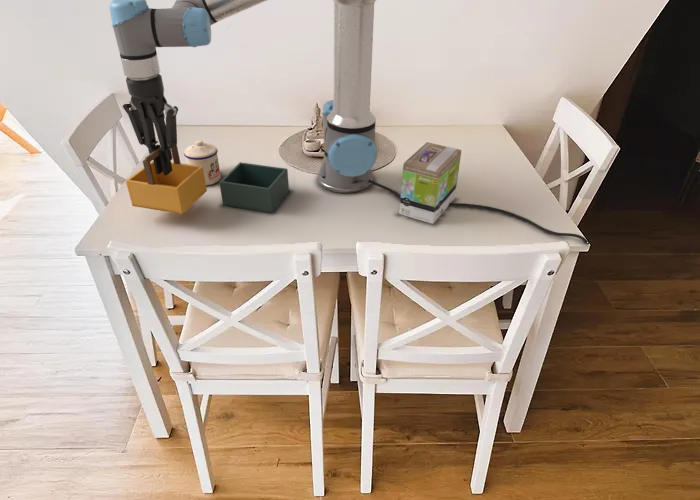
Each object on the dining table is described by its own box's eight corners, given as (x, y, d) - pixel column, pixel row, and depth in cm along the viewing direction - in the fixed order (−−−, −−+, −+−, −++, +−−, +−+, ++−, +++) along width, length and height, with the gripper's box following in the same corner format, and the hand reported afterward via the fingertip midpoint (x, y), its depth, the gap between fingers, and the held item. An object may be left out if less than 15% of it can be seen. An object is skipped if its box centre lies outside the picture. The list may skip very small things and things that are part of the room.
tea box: (434, 225, 134) (440, 171, 125) (398, 215, 138) (401, 162, 129) (455, 199, 145) (462, 148, 136) (421, 190, 149) (425, 140, 140)
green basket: (289, 191, 148) (287, 168, 144) (271, 213, 139) (269, 189, 135) (242, 184, 151) (239, 162, 147) (222, 205, 142) (219, 182, 138)
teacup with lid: (215, 187, 150) (209, 148, 143) (184, 185, 151) (176, 147, 144) (228, 168, 160) (223, 131, 153) (199, 166, 161) (192, 129, 154)
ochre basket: (207, 191, 139) (198, 141, 131) (182, 214, 129) (171, 162, 122) (159, 183, 142) (148, 135, 134) (132, 206, 133) (118, 155, 125)
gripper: (181, 73, 119) (198, 169, 133) (125, 67, 123) (147, 162, 136) (162, 83, 113) (182, 183, 127) (104, 77, 117) (129, 175, 130)
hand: (164, 172), depth 132 cm, fingers closed on ochre basket
